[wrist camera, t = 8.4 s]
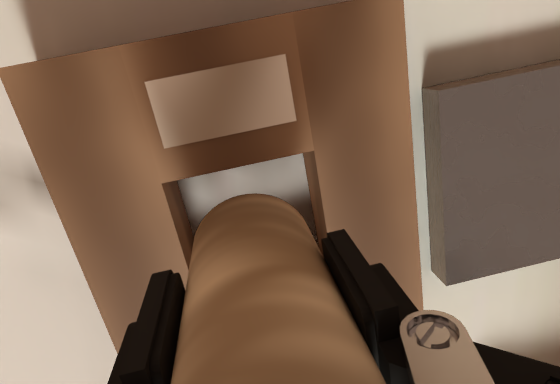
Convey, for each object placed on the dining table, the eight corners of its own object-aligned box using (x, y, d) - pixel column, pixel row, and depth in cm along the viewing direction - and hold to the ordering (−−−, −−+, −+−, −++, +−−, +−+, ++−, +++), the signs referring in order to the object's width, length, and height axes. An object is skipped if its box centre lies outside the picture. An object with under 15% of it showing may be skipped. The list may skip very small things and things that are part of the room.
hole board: (372, 2, 16) (403, -11, 13) (399, 308, 22) (426, 347, 19) (38, 66, 15) (-6, 68, 13) (155, 369, 21) (144, 419, 18)
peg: (301, 181, 14) (468, 450, 4) (318, 284, 15) (471, 646, 6) (178, 209, 13) (74, 561, 4) (209, 311, 15) (187, 737, 6)
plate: (619, 46, 18) (652, 45, 17) (598, 230, 22) (623, 242, 21) (421, 88, 18) (438, 90, 16) (431, 270, 21) (446, 285, 20)
